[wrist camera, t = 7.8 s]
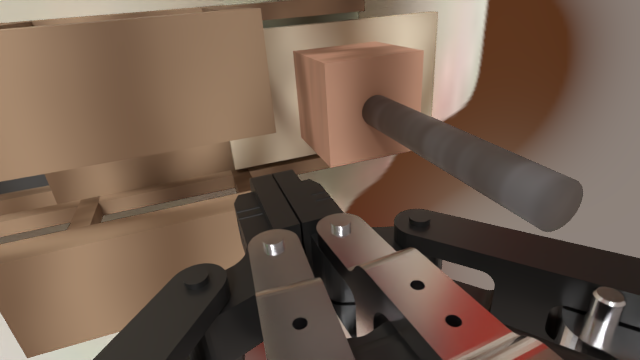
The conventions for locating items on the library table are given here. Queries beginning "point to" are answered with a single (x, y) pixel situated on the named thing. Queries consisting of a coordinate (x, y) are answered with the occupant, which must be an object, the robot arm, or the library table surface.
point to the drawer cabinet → (128, 155)
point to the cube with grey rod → (388, 112)
